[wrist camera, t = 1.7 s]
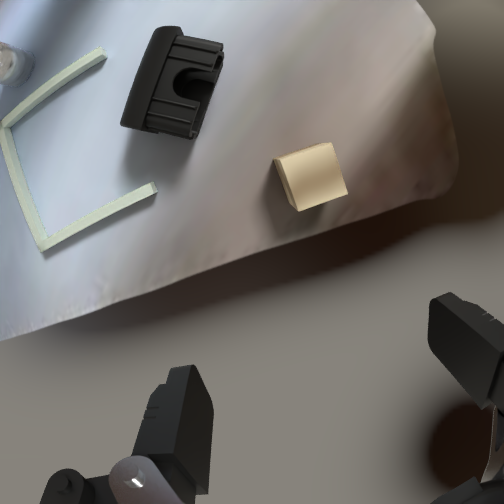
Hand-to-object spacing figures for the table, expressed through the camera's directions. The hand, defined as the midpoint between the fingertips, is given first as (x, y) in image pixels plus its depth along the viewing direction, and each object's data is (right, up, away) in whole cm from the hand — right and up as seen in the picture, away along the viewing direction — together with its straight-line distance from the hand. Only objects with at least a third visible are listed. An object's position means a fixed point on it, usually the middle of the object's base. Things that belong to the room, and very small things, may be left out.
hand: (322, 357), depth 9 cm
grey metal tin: (-32, +27, +14) cm, 44 cm away
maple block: (+3, +12, +22) cm, 25 cm away
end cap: (-10, +20, +18) cm, 29 cm away
